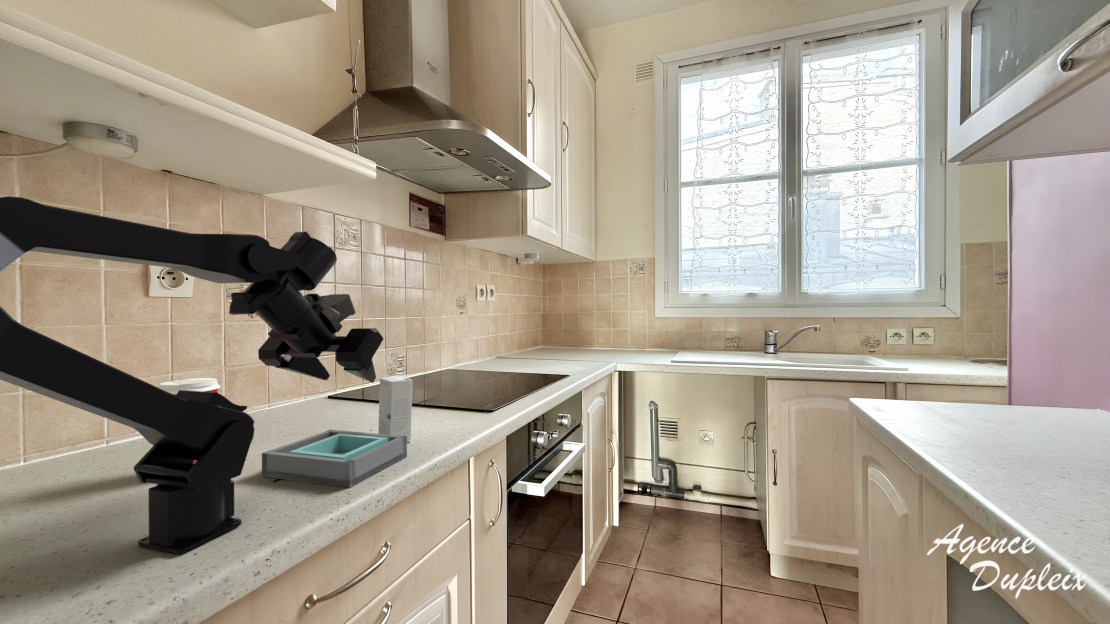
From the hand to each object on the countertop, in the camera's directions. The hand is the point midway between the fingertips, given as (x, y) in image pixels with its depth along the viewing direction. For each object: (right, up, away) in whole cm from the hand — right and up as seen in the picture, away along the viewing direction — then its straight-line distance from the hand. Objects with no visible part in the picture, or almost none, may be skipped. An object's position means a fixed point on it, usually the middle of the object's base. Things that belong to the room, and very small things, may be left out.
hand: (350, 378), depth 69 cm
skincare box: (+3, -14, +11) cm, 18 cm away
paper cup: (-24, -14, -3) cm, 28 cm away
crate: (-1, -14, -2) cm, 14 cm away
